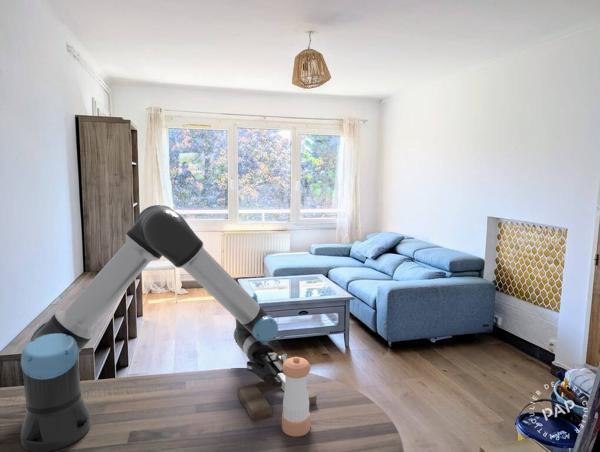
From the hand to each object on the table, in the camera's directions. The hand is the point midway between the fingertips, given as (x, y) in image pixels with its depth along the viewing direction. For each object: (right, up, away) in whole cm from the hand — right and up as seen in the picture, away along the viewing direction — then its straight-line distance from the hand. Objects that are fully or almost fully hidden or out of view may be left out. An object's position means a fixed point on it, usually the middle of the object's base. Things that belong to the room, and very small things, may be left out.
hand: (289, 389), depth 111 cm
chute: (-4, -7, +9) cm, 12 cm away
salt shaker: (+2, -9, -3) cm, 9 cm away
